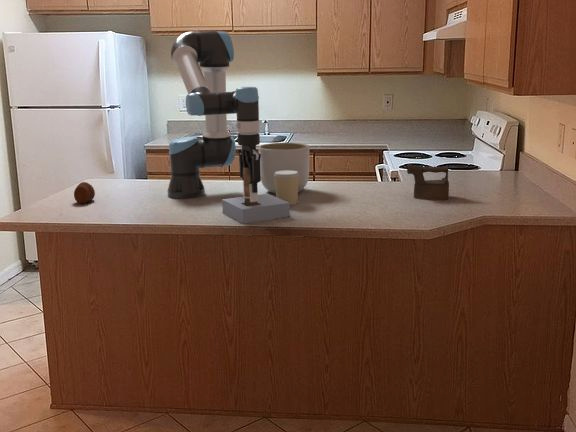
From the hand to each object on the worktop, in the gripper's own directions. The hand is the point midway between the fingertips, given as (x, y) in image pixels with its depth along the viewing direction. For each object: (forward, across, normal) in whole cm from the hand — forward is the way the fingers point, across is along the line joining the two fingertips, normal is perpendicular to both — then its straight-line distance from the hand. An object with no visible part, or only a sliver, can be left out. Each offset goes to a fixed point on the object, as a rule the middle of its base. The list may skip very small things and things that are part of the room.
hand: (250, 199), depth 222 cm
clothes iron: (+7, +9, +72) cm, 73 cm away
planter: (+7, -32, +30) cm, 44 cm away
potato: (+7, -59, -46) cm, 75 cm away
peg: (+4, 0, 0) cm, 4 cm away
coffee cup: (+7, -13, +21) cm, 26 cm away
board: (+6, -3, +3) cm, 8 cm away
